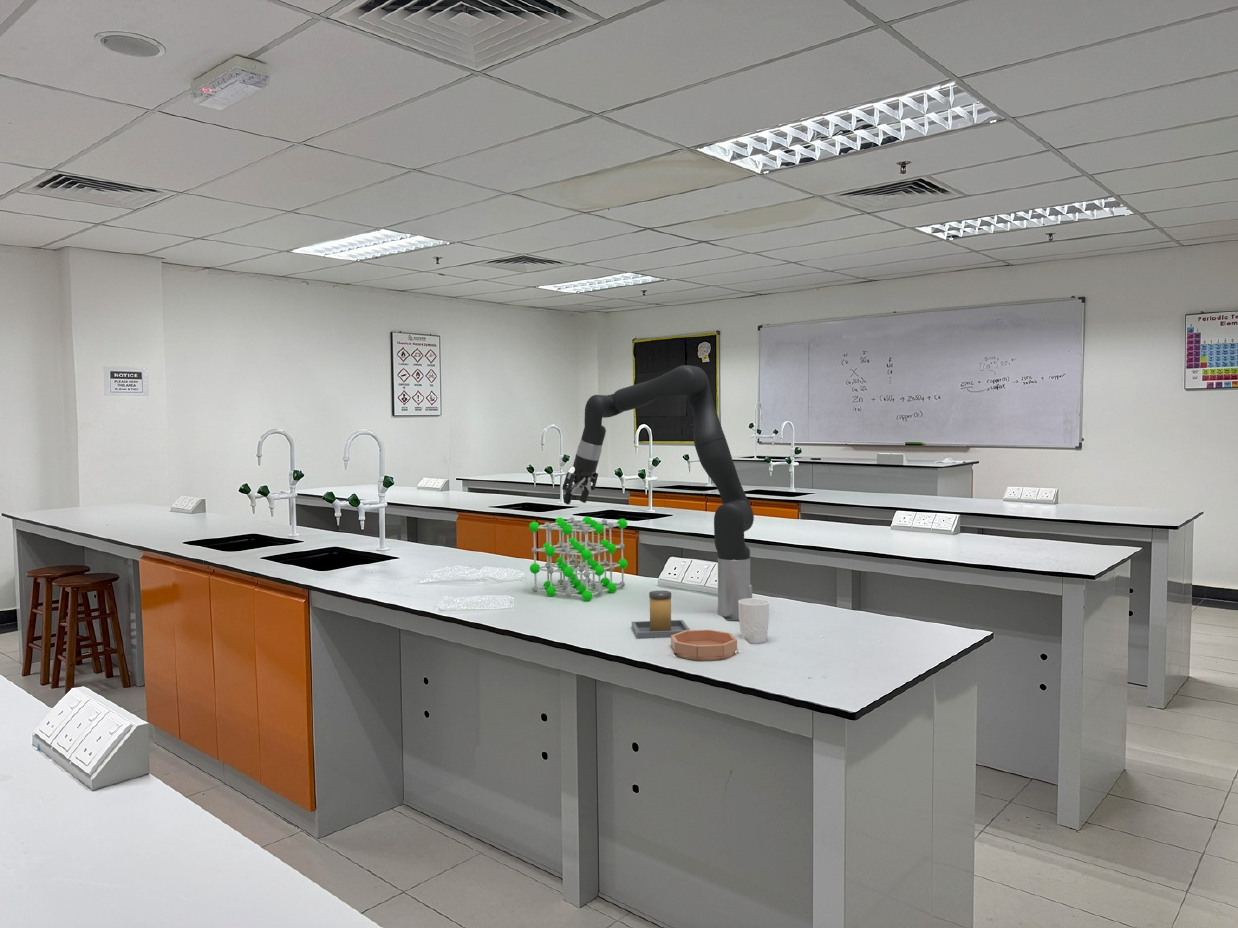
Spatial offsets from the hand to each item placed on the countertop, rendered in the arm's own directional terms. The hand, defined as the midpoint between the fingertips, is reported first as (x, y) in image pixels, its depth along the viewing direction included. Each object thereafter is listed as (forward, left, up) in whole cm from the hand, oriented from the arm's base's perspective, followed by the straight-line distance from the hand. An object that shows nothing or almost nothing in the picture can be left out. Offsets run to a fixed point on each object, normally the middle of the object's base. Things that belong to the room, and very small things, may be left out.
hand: (574, 502), depth 265 cm
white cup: (-43, +60, -31) cm, 80 cm away
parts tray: (-20, +52, -31) cm, 63 cm away
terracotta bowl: (-28, +69, -31) cm, 80 cm away
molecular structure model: (-2, -9, -31) cm, 32 cm away
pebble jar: (-20, +52, -30) cm, 63 cm away
